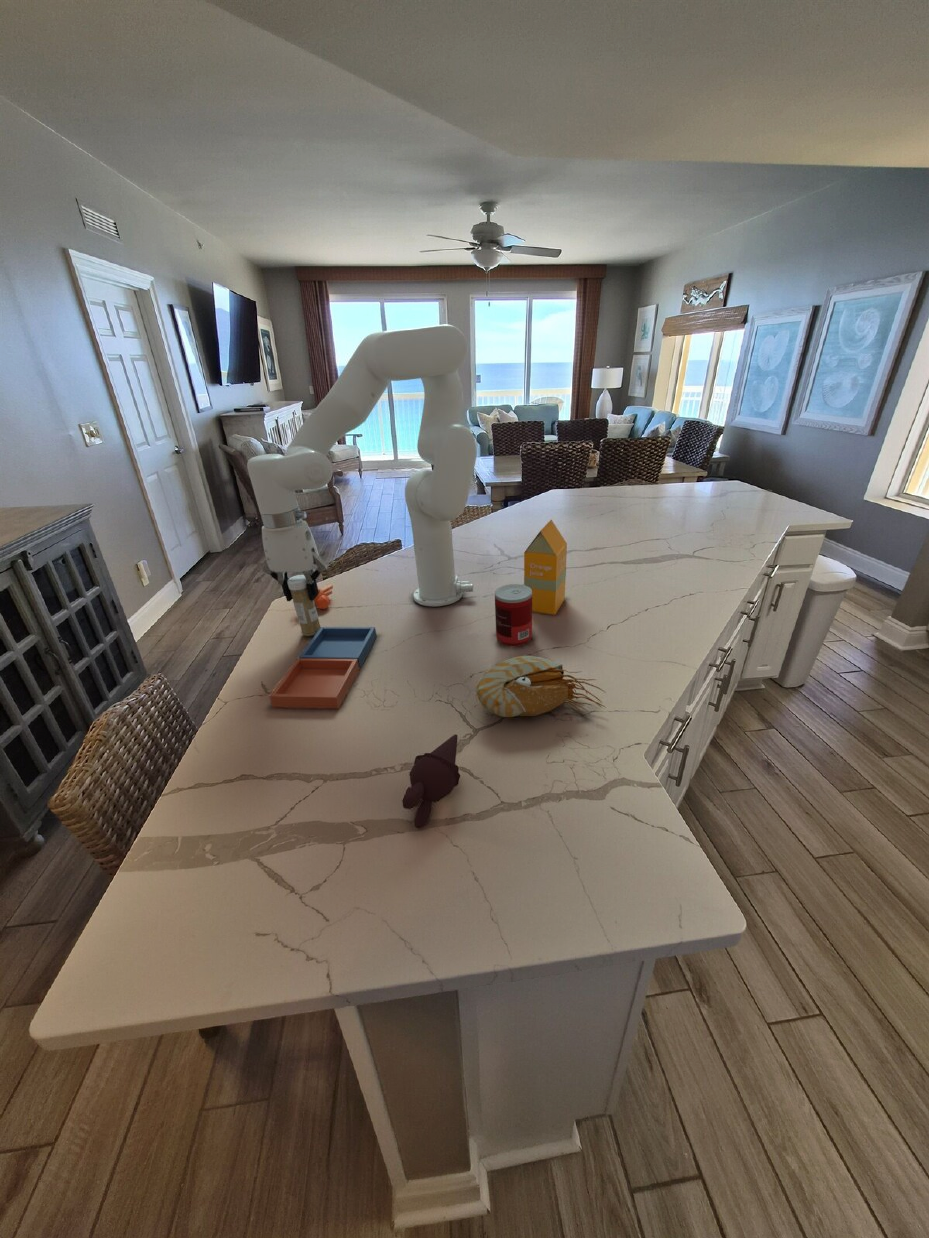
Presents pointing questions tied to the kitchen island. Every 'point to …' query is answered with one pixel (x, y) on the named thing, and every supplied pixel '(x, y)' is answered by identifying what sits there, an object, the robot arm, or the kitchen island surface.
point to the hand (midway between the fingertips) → (302, 597)
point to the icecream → (432, 780)
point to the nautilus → (528, 687)
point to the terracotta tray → (315, 683)
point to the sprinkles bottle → (304, 605)
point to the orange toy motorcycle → (323, 597)
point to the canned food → (513, 614)
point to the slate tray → (341, 643)
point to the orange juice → (546, 569)
